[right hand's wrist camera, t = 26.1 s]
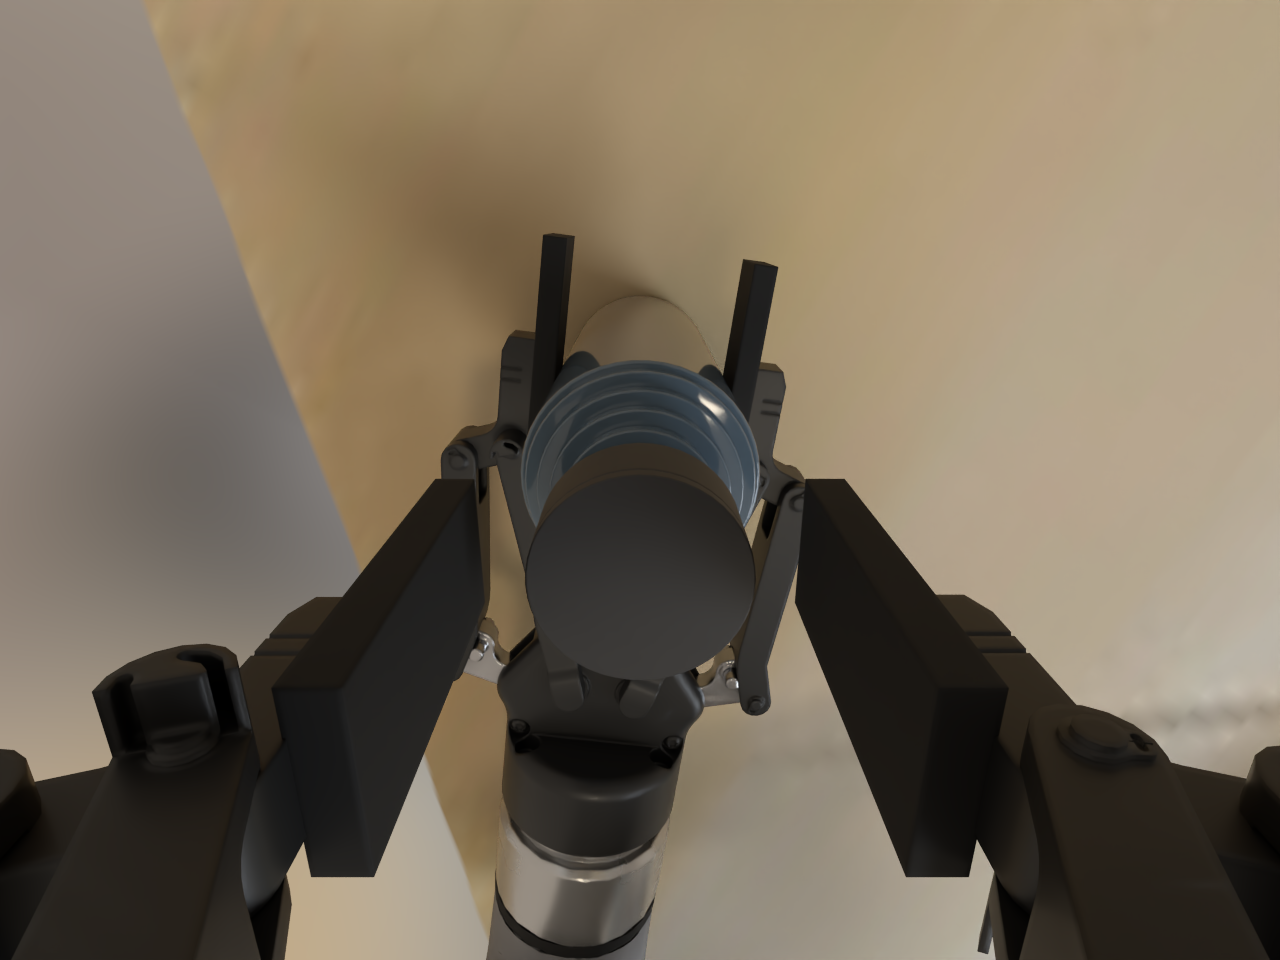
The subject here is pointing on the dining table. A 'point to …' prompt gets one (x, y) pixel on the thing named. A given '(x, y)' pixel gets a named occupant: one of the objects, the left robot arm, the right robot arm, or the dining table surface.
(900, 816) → the right robot arm
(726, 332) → the dining table surface
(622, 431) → the bottle
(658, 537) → the cap
